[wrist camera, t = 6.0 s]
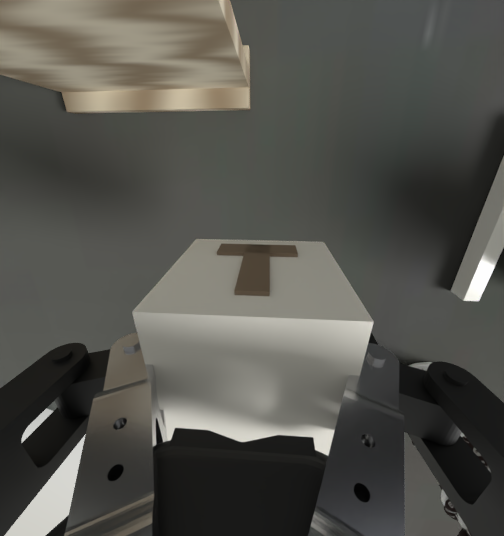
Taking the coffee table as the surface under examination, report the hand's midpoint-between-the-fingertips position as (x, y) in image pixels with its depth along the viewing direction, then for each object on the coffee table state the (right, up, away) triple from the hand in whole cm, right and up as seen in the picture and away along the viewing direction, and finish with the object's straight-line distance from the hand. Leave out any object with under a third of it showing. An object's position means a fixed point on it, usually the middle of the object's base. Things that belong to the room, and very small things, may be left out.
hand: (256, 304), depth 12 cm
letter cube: (0, 0, +1) cm, 1 cm away
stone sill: (+22, +6, +12) cm, 26 cm away
